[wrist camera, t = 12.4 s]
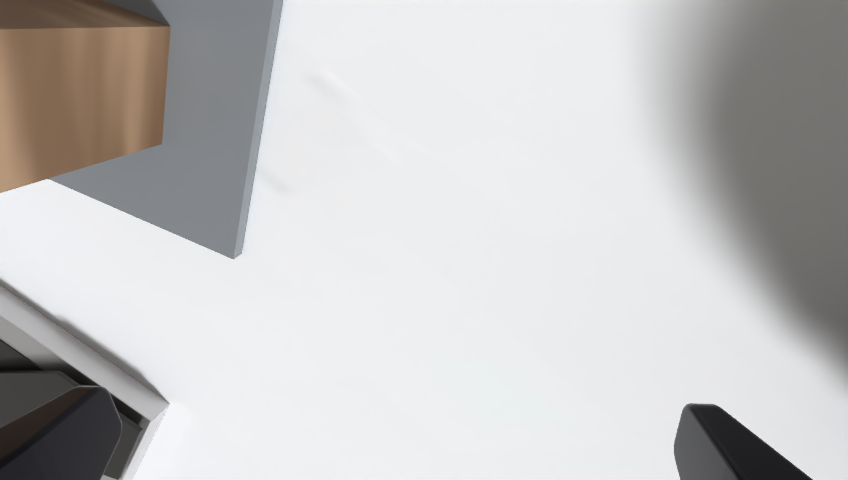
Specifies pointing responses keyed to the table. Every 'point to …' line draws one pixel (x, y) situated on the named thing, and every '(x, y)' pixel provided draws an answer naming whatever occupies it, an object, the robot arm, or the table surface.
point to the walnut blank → (77, 86)
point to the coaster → (198, 124)
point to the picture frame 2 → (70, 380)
